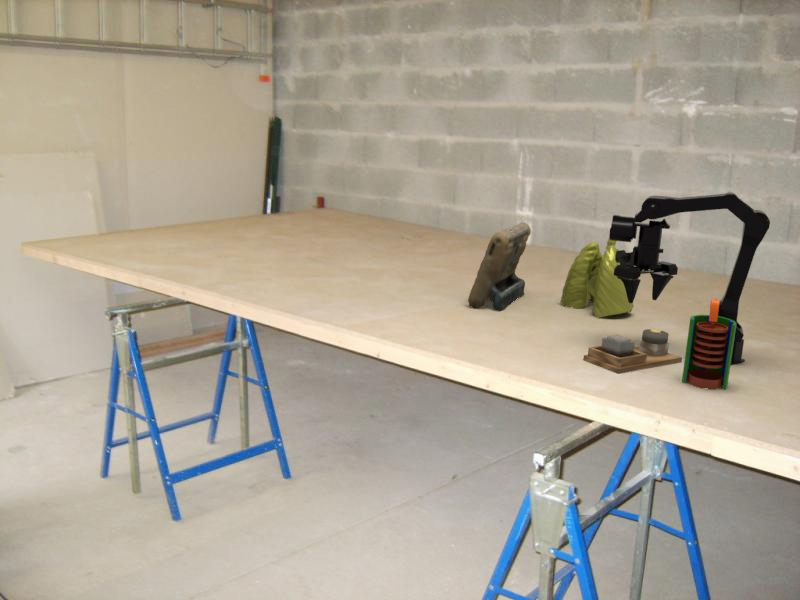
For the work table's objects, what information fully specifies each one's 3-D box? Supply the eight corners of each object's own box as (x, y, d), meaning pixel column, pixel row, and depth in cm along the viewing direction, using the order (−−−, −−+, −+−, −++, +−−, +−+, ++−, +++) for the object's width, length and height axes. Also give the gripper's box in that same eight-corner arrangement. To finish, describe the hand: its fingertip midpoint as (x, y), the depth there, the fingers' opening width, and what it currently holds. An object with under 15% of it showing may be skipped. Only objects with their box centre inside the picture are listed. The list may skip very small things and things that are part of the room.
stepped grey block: (632, 361, 205) (634, 339, 204) (618, 363, 203) (620, 341, 201) (614, 354, 210) (617, 333, 209) (600, 357, 208) (602, 335, 206)
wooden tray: (681, 361, 211) (683, 345, 210) (618, 373, 199) (620, 356, 198) (645, 349, 221) (647, 333, 220) (583, 359, 209) (584, 343, 208)
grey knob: (671, 354, 212) (674, 332, 211) (654, 357, 209) (657, 334, 208) (652, 347, 218) (654, 326, 216) (635, 350, 214) (637, 328, 213)
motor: (685, 387, 191) (696, 304, 187) (678, 375, 200) (688, 295, 195) (730, 391, 190) (742, 307, 185) (721, 379, 198) (733, 299, 194)
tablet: (487, 288, 288) (492, 218, 282) (526, 293, 284) (532, 221, 278) (466, 308, 258) (471, 230, 252) (509, 313, 254) (515, 234, 248)
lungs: (642, 317, 257) (651, 241, 252) (605, 321, 249) (614, 243, 244) (588, 299, 278) (595, 229, 273) (552, 303, 271) (559, 231, 265)
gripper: (649, 237, 227) (643, 292, 230) (601, 240, 217) (595, 297, 221) (682, 244, 218) (675, 301, 221) (633, 247, 208) (626, 307, 211)
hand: (642, 301), depth 219 cm, fingers open, 9 cm apart
